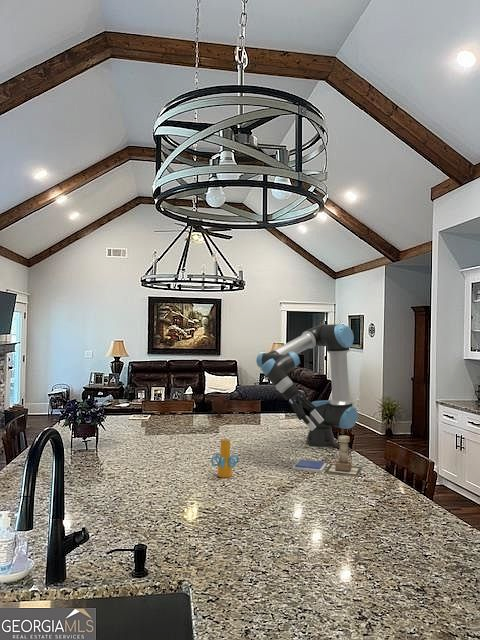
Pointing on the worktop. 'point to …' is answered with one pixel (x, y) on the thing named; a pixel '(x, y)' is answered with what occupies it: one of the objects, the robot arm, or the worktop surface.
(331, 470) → the marked board
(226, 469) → the orange post with loops
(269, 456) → the worktop surface
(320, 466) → the ink pad
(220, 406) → the ice cream bowl
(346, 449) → the stamp
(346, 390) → the robot arm
